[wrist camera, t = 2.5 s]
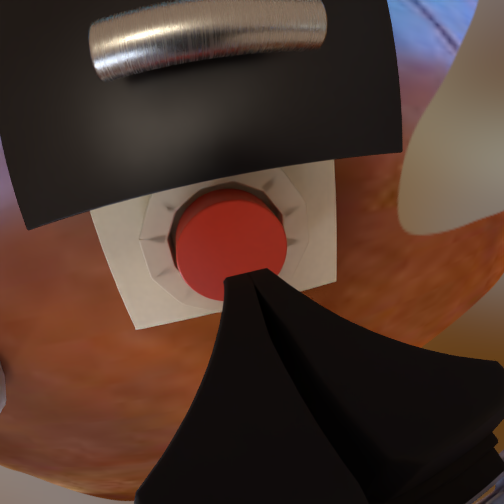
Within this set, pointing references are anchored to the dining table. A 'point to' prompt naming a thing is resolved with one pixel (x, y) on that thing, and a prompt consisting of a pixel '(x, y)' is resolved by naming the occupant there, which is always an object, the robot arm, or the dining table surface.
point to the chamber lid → (186, 93)
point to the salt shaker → (2, 389)
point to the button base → (164, 239)
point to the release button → (227, 240)
